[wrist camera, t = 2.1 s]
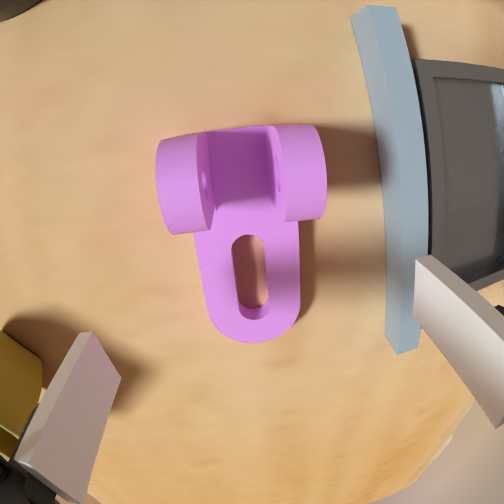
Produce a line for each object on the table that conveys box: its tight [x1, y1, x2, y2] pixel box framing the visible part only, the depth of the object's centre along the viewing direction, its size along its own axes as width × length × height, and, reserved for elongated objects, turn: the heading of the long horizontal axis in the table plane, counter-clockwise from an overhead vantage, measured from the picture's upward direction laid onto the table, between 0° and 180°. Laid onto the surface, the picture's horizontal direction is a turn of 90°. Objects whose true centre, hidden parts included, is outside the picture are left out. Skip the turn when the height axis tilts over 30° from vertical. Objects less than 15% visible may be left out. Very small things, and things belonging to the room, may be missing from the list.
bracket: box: [156, 124, 327, 343], centre depth 15 cm, size 13×6×7 cm, turn 5°
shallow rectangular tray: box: [411, 59, 504, 291], centre depth 16 cm, size 16×10×2 cm, turn 13°
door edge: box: [350, 5, 428, 355], centre depth 16 cm, size 22×2×2 cm, turn 13°
